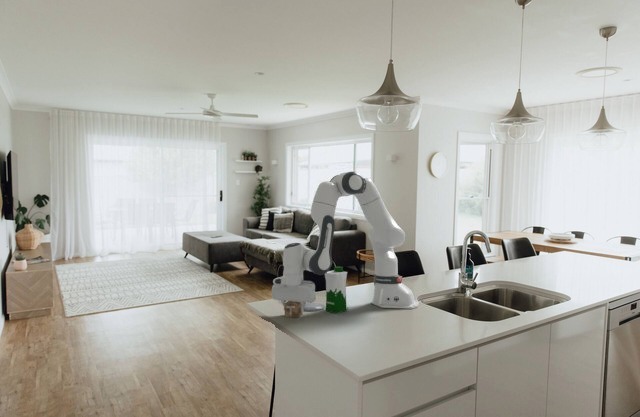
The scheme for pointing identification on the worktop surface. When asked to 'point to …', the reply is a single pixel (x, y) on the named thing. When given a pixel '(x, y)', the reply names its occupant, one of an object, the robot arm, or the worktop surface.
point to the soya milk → (336, 290)
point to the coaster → (313, 307)
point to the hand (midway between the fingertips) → (293, 310)
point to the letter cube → (292, 309)
